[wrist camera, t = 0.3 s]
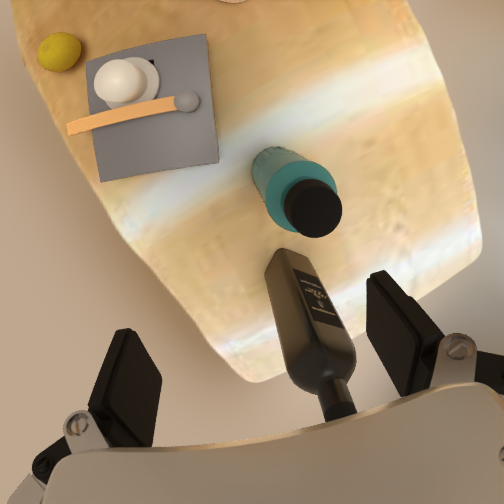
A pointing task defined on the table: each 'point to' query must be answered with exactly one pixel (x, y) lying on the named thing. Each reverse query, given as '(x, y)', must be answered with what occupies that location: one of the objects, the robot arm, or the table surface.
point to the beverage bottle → (297, 192)
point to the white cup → (233, 1)
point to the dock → (163, 124)
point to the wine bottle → (311, 333)
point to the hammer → (136, 111)
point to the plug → (127, 82)
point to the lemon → (59, 52)
